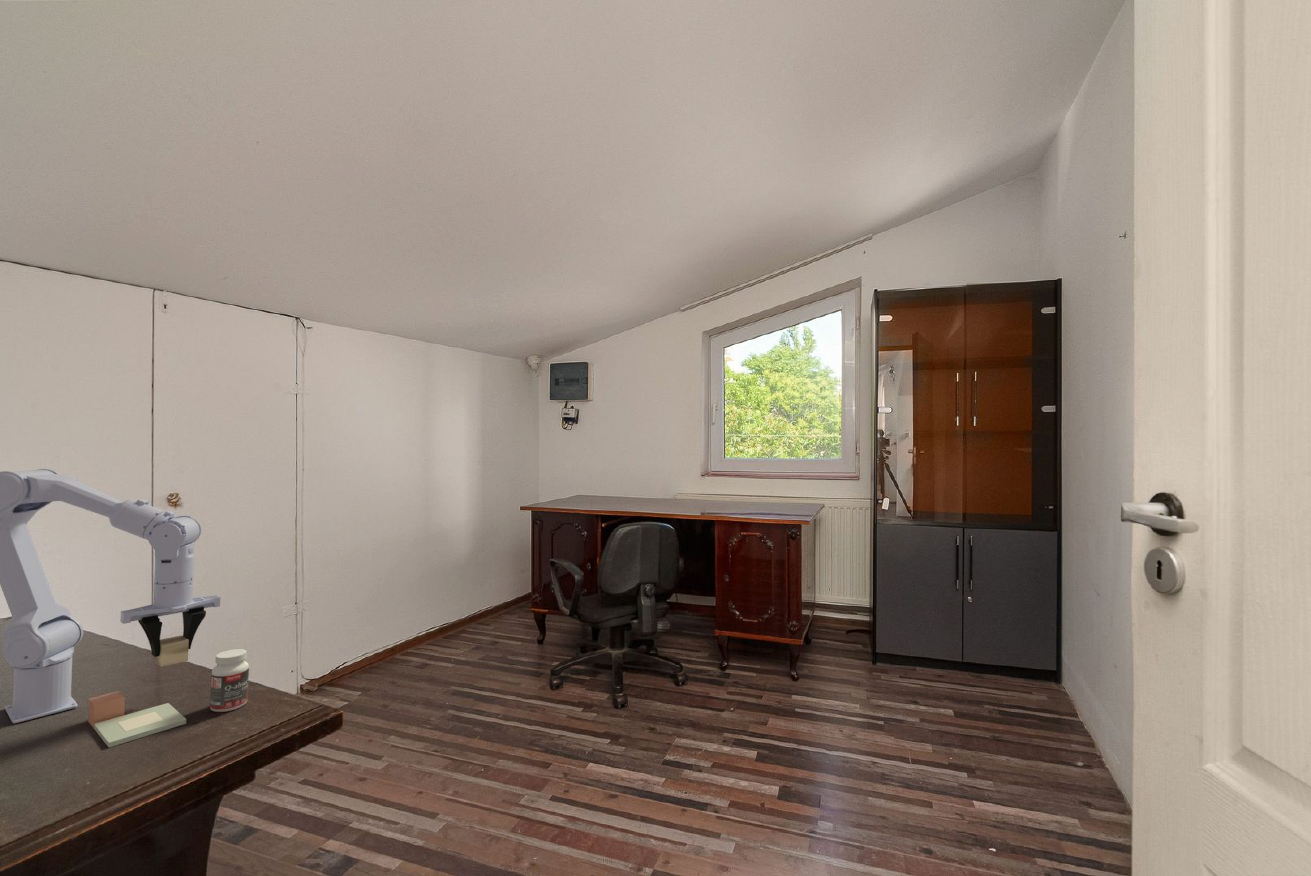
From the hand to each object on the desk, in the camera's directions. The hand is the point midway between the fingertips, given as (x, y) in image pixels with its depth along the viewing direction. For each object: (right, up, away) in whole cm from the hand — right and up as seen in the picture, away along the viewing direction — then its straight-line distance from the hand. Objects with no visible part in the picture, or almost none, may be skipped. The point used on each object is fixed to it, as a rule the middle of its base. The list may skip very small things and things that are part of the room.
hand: (171, 651), depth 108 cm
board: (+3, -9, -10) cm, 14 cm away
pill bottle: (+12, -10, -1) cm, 16 cm away
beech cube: (0, -2, 0) cm, 2 cm away
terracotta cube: (-5, -9, -8) cm, 13 cm away
